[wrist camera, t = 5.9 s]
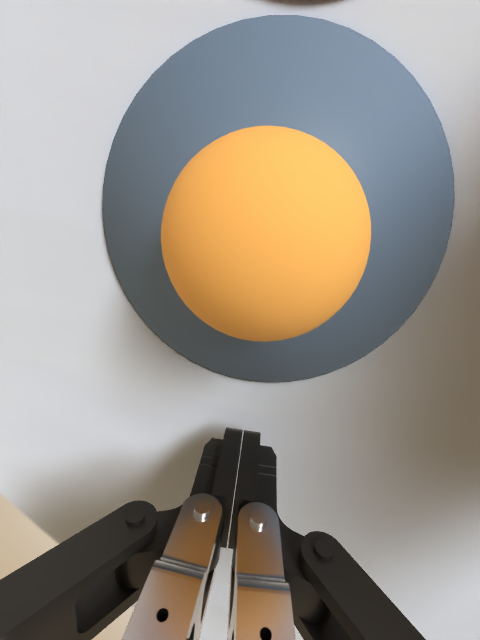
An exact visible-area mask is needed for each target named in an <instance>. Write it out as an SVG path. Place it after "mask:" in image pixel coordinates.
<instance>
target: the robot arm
mask: <svg viewBox="0 0 480 640" xmlns="http://www.w3.org/2000/svg"><path fill="white" fill-rule="evenodd" d="M242 431H243V430H239V429H232V428H226V430H225V435H224V439H223V440H222V439H215V438H212V439H211V440H210V441H209V442H208V443H207V444H206V445H205V447H204V451H203V454H202V457H201V461H200V465H199V468H198V471H197V474H196V478H195V481H194V484H193V488H192V491H191V494H190V497H189V498H188V499H186V501H185V502H184V503H183V505H181V506H180V507H178V508H175V509H172V510H167V511H159V512H157V511H156V509H155V508H154V506H153V505H152V504H150V503H148V502H145V501H133V502H130V503H127V504H125V505H124V506H122V507H120V508H119V509H117V510H115V511H114V512H112V513H110V514H109V515H107V516H105V517H104V518H102V519H100V520H99V521H97V522H95V523H94V524H92V525H90V526H89V527H87V528H85V529H84V530H82V531H80V532H79V533H77V534H75V535H74V536H72V537H71V538H69V539H67V540H66V541H64V542H62V543H61V544H59V545H57V546H56V547H54V548H52V549H51V550H49V551H47V552H46V553H44V554H43V555H41V556H39V557H37V558H36V559H34V560H32V561H31V562H29V563H27V564H26V565H24V566H22V567H21V568H19V569H17V570H16V571H14V572H13V573H11V574H9V575H8V576H6V577H4V578H3V579H1V580H0V640H91V639H93V638H94V637H95V636H96V635H97V634H99V633H100V632H101V631H102V630H103V629H104V628H106V627H107V626H108V625H109V624H110V623H112V622H113V621H114V620H115V619H116V618H117V617H119V616H120V615H121V614H122V613H123V612H125V611H126V610H127V609H128V608H129V607H130V606H132V605H133V604H134V603H135V602H136V601H137V604H136V606H135V609H134V611H133V613H132V616H131V618H130V621H129V623H128V625H127V628H126V630H125V633H124V635H123V637H122V640H199V638H200V633H201V629H202V624H203V620H204V616H205V612H206V608H207V603H208V599H209V595H210V591H211V587H212V583H213V578H214V574H215V569H216V566H217V563H218V560H219V554H220V548H221V547H224V548H226V546H227V539H228V532H229V525H230V518H231V511H232V504H233V497H234V490H235V483H236V477H237V469H238V462H239V454H240V447H241V439H242ZM228 548H231V549H233V558H232V566H231V573H230V592H229V612H228V632H227V640H296V639H295V630H294V625H295V626H296V628H297V629H298V631H299V633H300V634H301V636H302V637H303V639H304V640H426V639H425V638H424V637H423V636H422V635H421V634H420V633H419V632H418V630H417V629H416V628H415V627H414V626H413V625H412V624H411V623H410V621H409V620H408V619H407V618H406V617H405V616H404V615H403V614H402V613H401V611H400V610H399V609H398V608H397V607H396V606H395V605H394V604H393V602H392V601H391V600H390V599H389V598H388V597H387V596H386V595H385V594H384V592H383V591H382V590H381V589H380V588H379V587H378V586H377V585H376V583H375V582H374V581H373V580H372V579H371V578H370V577H369V576H368V575H367V573H366V572H365V571H364V570H363V569H362V568H361V567H360V566H359V564H358V563H357V562H356V561H355V560H354V559H353V558H352V557H351V555H350V554H349V553H348V552H347V551H346V550H345V549H344V548H343V547H342V545H341V544H340V543H339V542H338V541H337V540H336V539H335V538H333V537H332V536H331V535H329V534H327V533H324V532H319V531H314V532H310V533H308V534H307V535H305V537H304V536H302V535H300V534H298V533H296V532H294V531H292V530H291V529H289V528H288V527H287V526H286V525H285V524H284V523H283V522H282V521H281V519H280V518H279V516H278V513H277V496H276V455H275V453H274V451H273V449H272V447H268V446H261V445H260V433H259V432H252V431H246V430H244V434H243V441H242V449H241V456H240V463H239V470H238V477H237V484H236V492H235V499H234V507H233V514H232V522H231V530H230V537H229V545H228Z"/></svg>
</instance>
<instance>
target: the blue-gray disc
mask: <svg viewBox="0 0 480 640" xmlns="http://www.w3.org/2000/svg"><path fill="white" fill-rule="evenodd" d="M254 126H280V127H287V128H291V129H295V130H299V131H301V132H304V133H307V134H309V135H312V136H314V137H315V138H317V139H319V140H321V141H322V142H324V143H326V144H327V145H328V146H330V147H331V148H332V149H334V150H335V151H336V152H337V153H338V154H339V155H340V156H341V157H342V158H343V159H344V160H345V161H346V162H347V164H348V165H349V166H350V168H351V169H352V170H353V172H354V173H355V175H356V177H357V179H358V180H359V182H360V184H361V186H362V189H363V191H364V194H365V196H366V200H367V203H368V207H369V212H370V219H371V243H370V251H369V256H368V260H367V264H366V267H365V270H364V273H363V276H362V278H361V280H360V282H359V284H358V286H357V288H356V289H355V291H354V292H353V294H352V295H351V297H350V298H349V299H348V301H347V302H346V303H345V304H344V305H343V306H342V308H341V309H340V310H339V311H337V312H336V313H335V314H334V315H333V316H332V317H331V318H330V319H329V320H327V321H326V322H324V323H323V324H321V325H320V326H318V327H317V328H315V329H313V330H311V331H309V332H307V333H305V334H302V335H299V336H297V337H294V338H289V339H285V340H279V341H268V342H261V341H249V340H243V339H239V338H236V337H232V336H229V335H227V334H224V333H222V332H220V331H218V330H216V329H214V328H213V327H211V326H209V325H208V324H206V323H205V322H203V321H202V320H201V319H200V318H199V317H197V316H196V315H195V314H194V313H193V312H192V311H191V310H190V309H189V308H188V307H187V306H186V305H185V303H184V302H183V300H182V299H181V298H180V296H179V295H178V293H177V292H176V290H175V288H174V286H173V284H172V282H171V280H170V278H169V275H168V273H167V270H166V267H165V263H164V259H163V254H162V245H161V225H162V218H163V212H164V208H165V205H166V202H167V198H168V196H169V193H170V191H171V189H172V187H173V185H174V182H175V181H176V179H177V177H178V176H179V174H180V173H181V171H182V170H183V168H184V167H185V166H186V165H187V164H188V162H189V161H190V160H191V159H192V158H193V157H194V156H195V155H196V154H197V153H198V152H199V151H201V150H202V149H203V148H204V147H206V146H207V145H209V144H210V143H212V142H213V141H215V140H217V139H219V138H221V137H223V136H225V135H227V134H229V133H231V132H234V131H237V130H240V129H243V128H249V127H254ZM453 208H454V174H453V168H452V162H451V156H450V150H449V146H448V143H447V140H446V137H445V134H444V131H443V128H442V124H441V122H440V120H439V118H438V116H437V114H436V112H435V110H434V108H433V106H432V104H431V102H430V100H429V98H428V97H427V95H426V94H425V92H424V91H423V89H422V88H421V86H420V85H419V84H418V82H417V81H416V79H415V78H414V77H413V75H412V74H411V73H410V72H409V71H408V70H407V69H406V68H405V67H404V66H403V65H402V64H401V63H400V62H399V61H398V60H397V59H396V58H395V57H394V56H393V55H391V54H390V53H389V52H387V51H386V50H385V49H384V48H382V47H381V46H380V45H378V44H377V43H376V42H374V41H373V40H371V39H369V38H367V37H365V36H363V35H361V34H359V33H358V32H356V31H354V30H352V29H350V28H347V27H344V26H341V25H338V24H335V23H332V22H329V21H326V20H323V19H317V18H311V17H305V16H298V15H268V16H262V17H256V18H250V19H245V20H240V21H237V22H234V23H231V24H228V25H225V26H223V27H220V28H217V29H215V30H213V31H211V32H209V33H207V34H205V35H203V36H201V37H199V38H197V39H195V40H193V41H192V42H190V43H189V44H188V45H186V46H185V47H183V48H182V49H181V50H179V51H178V52H176V53H175V54H174V55H172V56H171V57H170V58H169V59H168V60H167V61H166V62H165V63H164V64H163V65H162V66H160V67H159V68H158V69H157V70H156V71H155V72H154V73H153V74H152V75H151V77H150V78H149V79H148V80H147V82H146V83H145V84H144V85H143V87H142V88H141V89H140V91H139V92H138V93H137V94H136V96H135V98H134V99H133V101H132V103H131V104H130V106H129V108H128V109H127V111H126V113H125V115H124V116H123V118H122V121H121V123H120V125H119V128H118V130H117V132H116V135H115V137H114V140H113V143H112V146H111V150H110V153H109V157H108V161H107V165H106V171H105V178H104V184H103V208H102V211H103V222H104V233H105V237H106V242H107V247H108V252H109V256H110V259H111V261H112V264H113V267H114V270H115V273H116V276H117V278H118V280H119V282H120V284H121V286H122V288H123V290H124V293H125V294H126V296H127V298H128V299H129V301H130V302H131V304H132V306H133V307H134V309H135V310H136V312H137V313H138V314H139V316H140V317H141V318H142V319H143V321H144V322H145V323H146V324H147V325H148V327H149V328H150V329H151V330H152V331H153V332H154V333H155V334H156V335H157V336H158V337H159V338H160V339H161V340H162V341H164V342H165V343H166V344H167V345H169V346H170V347H171V348H173V349H174V350H175V351H176V352H178V353H179V354H181V355H183V356H184V357H186V358H187V359H189V360H191V361H192V362H194V363H196V364H198V365H200V366H203V367H205V368H207V369H209V370H211V371H214V372H217V373H220V374H223V375H226V376H229V377H233V378H238V379H243V380H248V381H258V382H290V381H296V380H303V379H309V378H313V377H316V376H320V375H324V374H327V373H330V372H332V371H335V370H337V369H340V368H342V367H345V366H347V365H349V364H351V363H353V362H355V361H356V360H358V359H360V358H362V357H364V356H365V355H367V354H368V353H370V352H371V351H373V350H374V349H375V348H377V347H378V346H380V345H381V344H382V343H384V342H385V341H386V340H387V339H388V338H389V337H390V336H391V335H392V334H394V333H395V332H396V331H397V330H398V329H399V328H400V327H401V326H402V325H403V323H404V322H405V321H406V320H407V319H408V318H409V317H410V316H411V314H412V313H413V312H414V311H415V309H416V308H417V306H418V305H419V303H420V302H421V300H422V299H423V298H424V296H425V295H426V293H427V291H428V289H429V287H430V286H431V284H432V282H433V280H434V278H435V276H436V274H437V272H438V270H439V267H440V264H441V262H442V259H443V256H444V254H445V251H446V247H447V243H448V239H449V235H450V230H451V226H452V218H453Z"/></svg>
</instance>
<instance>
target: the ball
mask: <svg viewBox="0 0 480 640" xmlns="http://www.w3.org/2000/svg"><path fill="white" fill-rule="evenodd" d="M370 243H371V219H370V212H369V207H368V203H367V200H366V196H365V194H364V191H363V189H362V186H361V184H360V182H359V180H358V179H357V177H356V175H355V173H354V172H353V170H352V169H351V168H350V166H349V165H348V164H347V162H346V161H345V160H344V159H343V158H342V157H341V156H340V155H339V154H338V153H337V152H336V151H335V150H334V149H332V148H331V147H330V146H328V145H327V144H326V143H324V142H322V141H321V140H319V139H317V138H315V137H314V136H312V135H309V134H307V133H304V132H301V131H299V130H295V129H291V128H287V127H280V126H254V127H249V128H243V129H240V130H237V131H234V132H231V133H229V134H227V135H225V136H223V137H221V138H219V139H217V140H215V141H213V142H212V143H210V144H209V145H207V146H206V147H204V148H203V149H202V150H201V151H199V152H198V153H197V154H196V155H195V156H194V157H193V158H192V159H191V160H190V161H189V162H188V164H187V165H186V166H185V167H184V168H183V170H182V171H181V173H180V174H179V176H178V177H177V179H176V181H175V182H174V185H173V187H172V189H171V191H170V193H169V196H168V198H167V202H166V205H165V208H164V212H163V218H162V225H161V245H162V254H163V259H164V263H165V267H166V270H167V273H168V275H169V278H170V280H171V282H172V284H173V286H174V288H175V290H176V292H177V293H178V295H179V296H180V298H181V299H182V300H183V302H184V303H185V305H186V306H187V307H188V308H189V309H190V310H191V311H192V312H193V313H194V314H195V315H196V316H197V317H199V318H200V319H201V320H202V321H203V322H205V323H206V324H208V325H209V326H211V327H213V328H214V329H216V330H218V331H220V332H222V333H224V334H227V335H229V336H232V337H236V338H239V339H243V340H249V341H261V342H268V341H279V340H285V339H289V338H294V337H297V336H299V335H302V334H305V333H307V332H309V331H311V330H313V329H315V328H317V327H318V326H320V325H321V324H323V323H324V322H326V321H327V320H329V319H330V318H331V317H332V316H333V315H334V314H335V313H336V312H337V311H339V310H340V309H341V308H342V306H343V305H344V304H345V303H346V302H347V301H348V299H349V298H350V297H351V295H352V294H353V292H354V291H355V289H356V288H357V286H358V284H359V282H360V280H361V278H362V276H363V273H364V270H365V267H366V264H367V260H368V256H369V251H370Z"/></svg>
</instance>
